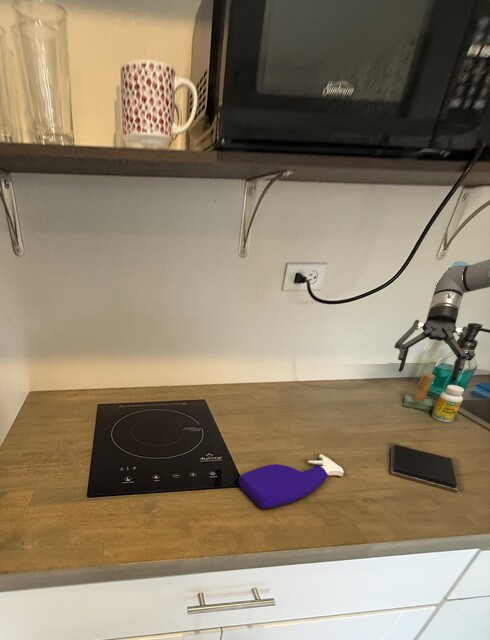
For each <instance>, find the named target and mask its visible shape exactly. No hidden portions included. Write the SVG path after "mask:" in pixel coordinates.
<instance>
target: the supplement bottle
mask: <svg viewBox="0 0 490 640" xmlns="http://www.w3.org/2000/svg"><path fill="white" fill-rule="evenodd" d="M464 391H465V388H464V387H461V386H460V385H455V384H448V385H447V386H446V388H445V391H442V392H441V393H440V394H439V397H438V399H437V400H436V404H435V406H434V408H433V411H432V412H431V417H432V418H433V419H435V420H437V421H439V422H443V423H450V422H453V421H454V419H455V416H456V415H457V413H458V411H459V409H460V407H461V405H462V403H463V400H464V397H463V396H462V395H463V394H464Z"/></svg>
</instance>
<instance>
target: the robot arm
mask: <svg viewBox="0 0 490 640" xmlns="http://www.w3.org/2000/svg"><path fill="white" fill-rule="evenodd" d="M458 261H459V262H458ZM458 261H455V263H454V264H453V265H452V266H451V267H449V268H448V270H447V271H446V272H445V273H444V274H443V276H442V277H441V279H440V280H439V282H438V283H437V285H436V284H435V286H436V288H435V287H434V290H435V291H433V294H432V298H431V301H430V305H429V308H428V313H427V316H426V320H425V322H421V321H420V320H419V319H415V320H414V322H413V324H412V326H411V327H410V328H409V329H408V330H407V331H406V332H405V333H404V334H402V336H401V337H400V338H399V339H398V340H397V341H396V342H395V344H394V348H395V349H397V350H399V353H398V356H397V360H398V361H400V365H399V368H398V372H400V373H402V371H403V370H404V368H405V364H406V360H407V357H408V354H409V350H410V348H411V347H413V346H415V345H416V344H418V343H420V342H421V341H424V340H426V339H427V338H428V339H429V340H431V341H433V340H434V341H435V340H436V341H438V342H442V341H443V342H444V343H445V344H446V345H447V346H448V347H449V349H451V351H452V353H453V354H454V355H455V356H456V358H457V359H456V360H455V362H454V366H453V370H452V374H451V377H450V382H452V383H454V382H455V381H456V380H457V379H458V376H459V372H461V371H462V370H463V369H465V365H466V361H468V362H469V361H472V360H473V359H474V358H475V357H476V353H475V349H473V351H468V353H465V352H464V350H462V349H463V348H462V349H461V348H460V347H459V345H460V344H459V345H458V344H457V342H458V341H457V339H456V337H455V335H454V334H455V333H456V335H457V337H458V339H459V340H460V339H463V338H464V337H465V335H466V332H467V333H468V331H467V328H468V327H467V326H463V327H457V326H456V325H457V320H458V316H459V311H460V308H461V303H462V300H463V296H464V294H465V293H470V292H475V291H478V290H482V289H483V290H484V289H488V288H490V258H488V259H486V260H483V261H479V262H477V263H473V264H469V263H467V262H466V261H463V260H458ZM463 270H464V271H463ZM462 275H463V280H462ZM419 329H422V332H421V333H419V334H418V335H416V336H415V337H413V338H411V339H410V340H408V339H409V338H410V337H411V336H412V335H413V334H414V333H415V331H417V330H418V331H419ZM407 340H408V341H407ZM406 341H407V342H406Z"/></svg>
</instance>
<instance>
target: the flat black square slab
mask: <svg viewBox="0 0 490 640" xmlns="http://www.w3.org/2000/svg"><path fill="white" fill-rule="evenodd" d="M389 455H390V456H389V457H390V459H389V460H390V461H389V462H390V463H389V464H390V465H389V475H390V476H392V477H393V476H394V477H396V478H400V479H404V480H407V481H411V482H416V483H419V484H422V485H427V486H430V487H433V488H437V489H441V490H443V491H449V492H451V493H455V494H456V493H458V491H459V486H458V481H457V477H456V472H455V468H454V463H453V459H452V458H451V457H446V456H443V455H439V454H435V453H431V452H426V451H422V450H418V449H414V448H410V447H406V446H403V445H402V446H401V445H398V444H394V445H391V447H390V454H389Z"/></svg>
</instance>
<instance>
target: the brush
mask: <svg viewBox="0 0 490 640" xmlns="http://www.w3.org/2000/svg"><path fill="white" fill-rule="evenodd" d="M434 379H435V375H434V374H432V373H429V372H423V373H422V375H421V377H420V380H419V382H418V385H417V388H416V390H415V392H414V394H413V395H410V394H404V396H403V404H402V408H404V409H405V408H406V409H408V410H409V409H410V410H415V411H419V412H424V413H428V414H429V413H430V412H431V410H432V407H433V402H432V399H430V398H429V399H428V398H427V396H428V393H429V390H430V389H431V386H432V384H433V381H434Z"/></svg>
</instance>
